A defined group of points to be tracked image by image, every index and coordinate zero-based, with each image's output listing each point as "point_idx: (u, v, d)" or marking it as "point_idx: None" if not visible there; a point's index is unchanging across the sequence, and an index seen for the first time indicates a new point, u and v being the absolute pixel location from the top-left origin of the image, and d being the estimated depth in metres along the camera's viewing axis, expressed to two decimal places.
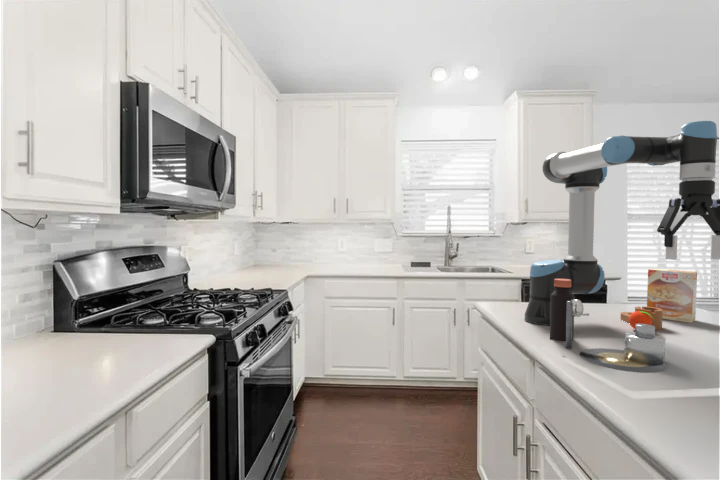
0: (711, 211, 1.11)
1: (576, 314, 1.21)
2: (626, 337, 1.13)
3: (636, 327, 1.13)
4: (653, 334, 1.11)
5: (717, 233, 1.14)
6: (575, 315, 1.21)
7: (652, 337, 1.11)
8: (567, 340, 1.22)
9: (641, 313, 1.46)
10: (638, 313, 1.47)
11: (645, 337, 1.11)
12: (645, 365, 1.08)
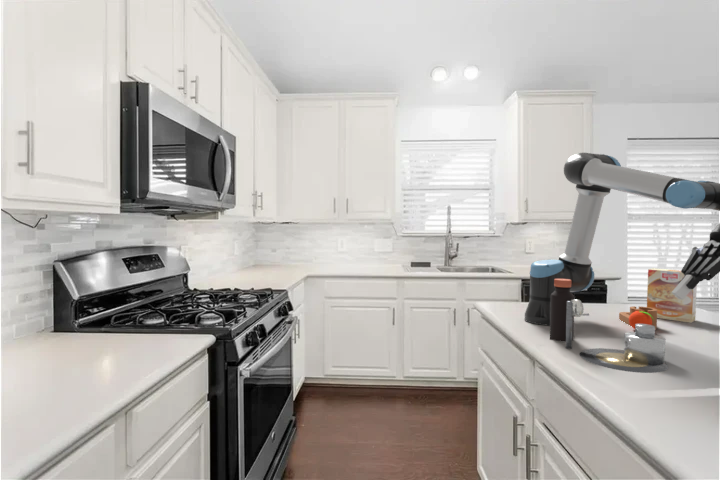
0: (712, 251, 1.12)
1: (576, 314, 1.21)
2: (626, 337, 1.13)
3: (636, 327, 1.13)
4: (653, 334, 1.11)
5: None
6: (575, 315, 1.21)
7: (652, 337, 1.11)
8: (567, 340, 1.22)
9: (641, 313, 1.46)
10: (638, 313, 1.47)
11: (645, 337, 1.11)
12: (645, 365, 1.08)
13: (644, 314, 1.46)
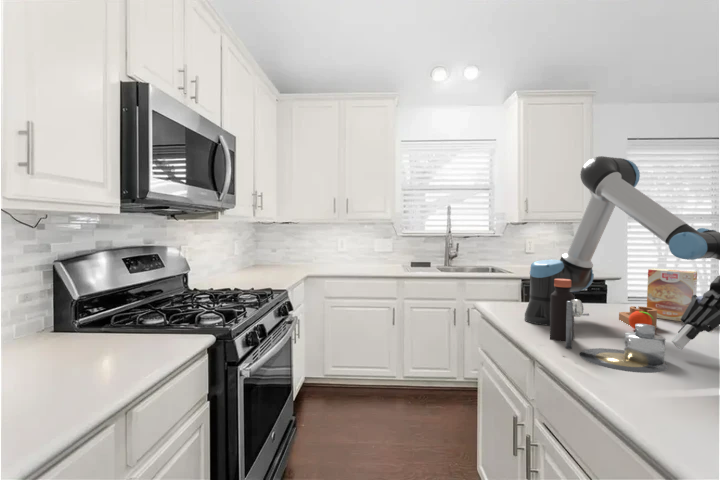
0: (712, 303, 1.13)
1: (576, 314, 1.21)
2: (626, 337, 1.13)
3: (636, 327, 1.13)
4: (653, 334, 1.11)
5: None
6: (575, 315, 1.21)
7: (652, 337, 1.11)
8: (567, 340, 1.22)
9: (641, 313, 1.46)
10: (638, 313, 1.47)
11: (645, 337, 1.11)
12: (645, 365, 1.08)
13: (644, 314, 1.46)
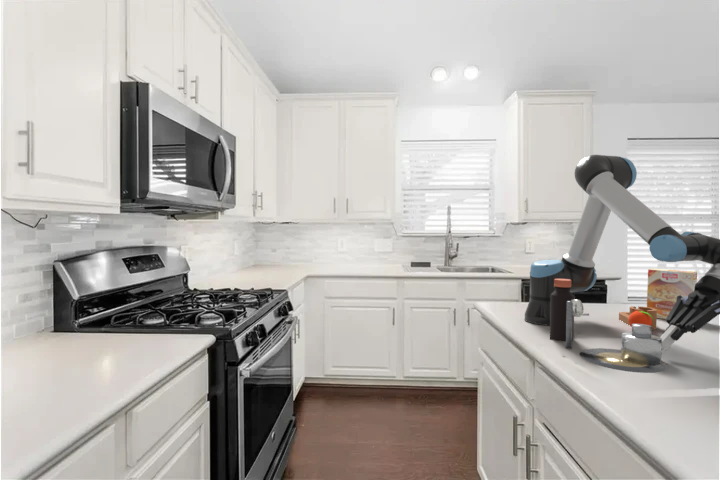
0: (697, 303, 1.12)
1: (576, 314, 1.21)
2: (623, 337, 1.13)
3: (633, 327, 1.13)
4: (649, 334, 1.11)
5: None
6: (575, 315, 1.21)
7: (648, 337, 1.10)
8: (567, 340, 1.22)
9: (641, 313, 1.46)
10: (638, 313, 1.47)
11: (641, 337, 1.11)
12: (645, 365, 1.08)
13: (644, 314, 1.46)
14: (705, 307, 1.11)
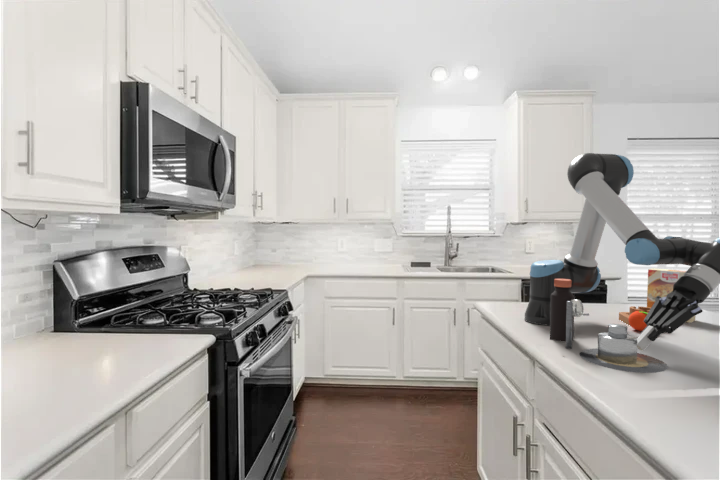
0: (674, 304, 1.12)
1: (576, 314, 1.21)
2: (598, 337, 1.13)
3: (608, 327, 1.13)
4: (625, 334, 1.10)
5: None
6: (575, 315, 1.21)
7: (624, 337, 1.10)
8: (567, 340, 1.22)
9: (641, 313, 1.46)
10: (638, 313, 1.47)
11: (617, 337, 1.10)
12: (645, 365, 1.08)
13: (644, 314, 1.46)
14: (682, 308, 1.11)
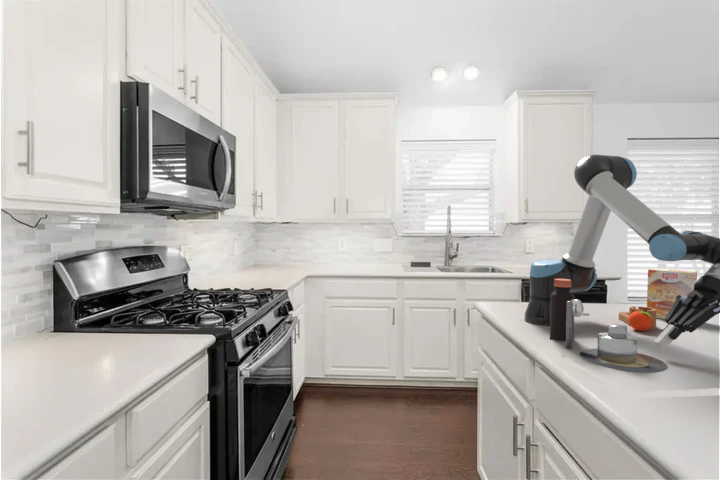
0: (695, 303, 1.12)
1: (576, 314, 1.21)
2: (598, 337, 1.13)
3: (608, 327, 1.13)
4: (625, 334, 1.10)
5: None
6: (575, 315, 1.21)
7: (623, 337, 1.10)
8: (567, 340, 1.22)
9: (641, 313, 1.46)
10: (638, 313, 1.47)
11: (616, 337, 1.10)
12: (645, 365, 1.08)
13: (644, 314, 1.46)
14: (703, 307, 1.11)
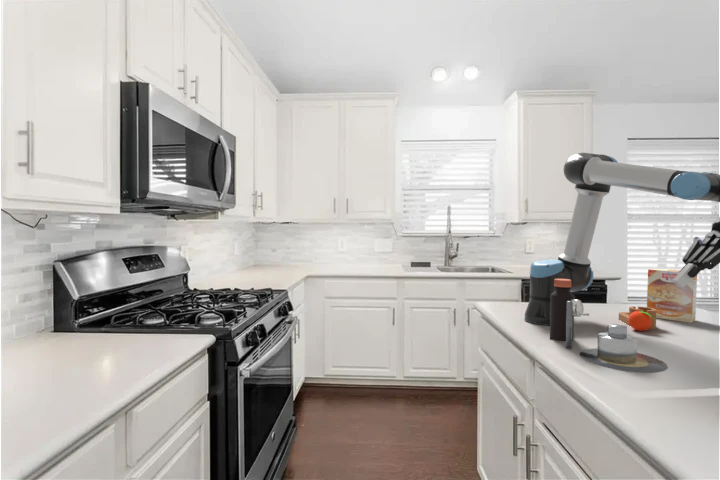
0: (714, 241, 1.12)
1: (576, 314, 1.21)
2: (598, 337, 1.13)
3: (608, 327, 1.13)
4: (625, 334, 1.10)
5: None
6: (575, 315, 1.21)
7: (623, 337, 1.10)
8: (567, 340, 1.22)
9: (641, 313, 1.46)
10: (638, 313, 1.47)
11: (616, 337, 1.10)
12: (645, 365, 1.08)
13: (644, 314, 1.46)
14: None
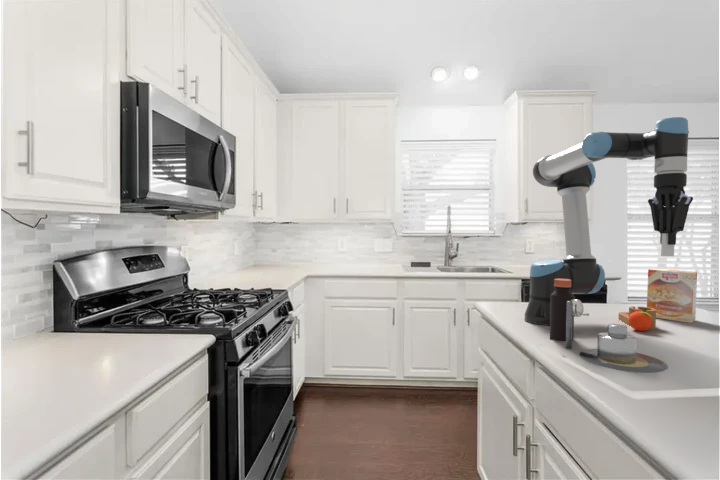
0: (667, 204, 1.18)
1: (576, 314, 1.21)
2: (598, 337, 1.13)
3: (608, 327, 1.13)
4: (625, 334, 1.10)
5: None
6: (575, 315, 1.21)
7: (623, 337, 1.10)
8: (567, 340, 1.22)
9: (641, 313, 1.46)
10: (638, 313, 1.46)
11: (616, 337, 1.10)
12: (645, 365, 1.08)
13: (644, 314, 1.46)
14: (675, 203, 1.17)
